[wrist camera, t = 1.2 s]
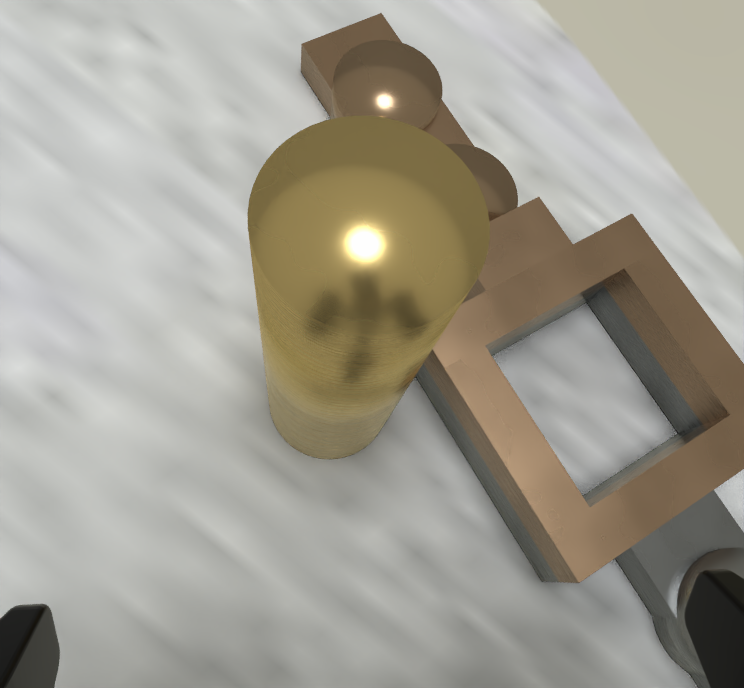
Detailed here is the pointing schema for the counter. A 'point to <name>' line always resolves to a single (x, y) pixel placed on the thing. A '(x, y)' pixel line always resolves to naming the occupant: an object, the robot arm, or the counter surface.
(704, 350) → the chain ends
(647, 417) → the counter surface
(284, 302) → the brass pin
